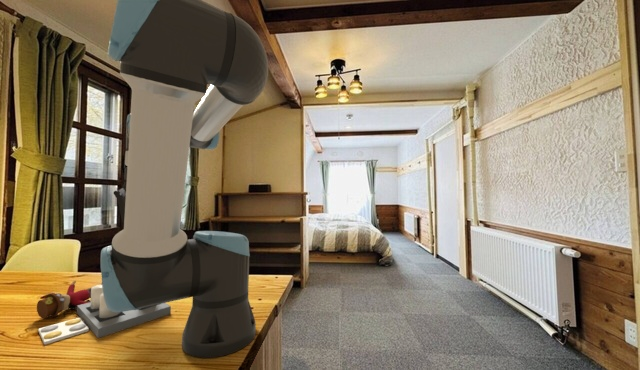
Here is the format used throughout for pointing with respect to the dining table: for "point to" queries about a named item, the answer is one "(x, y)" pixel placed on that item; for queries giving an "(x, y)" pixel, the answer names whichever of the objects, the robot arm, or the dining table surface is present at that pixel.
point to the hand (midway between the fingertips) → (137, 248)
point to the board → (119, 318)
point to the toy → (62, 301)
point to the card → (62, 330)
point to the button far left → (96, 296)
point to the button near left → (105, 309)
